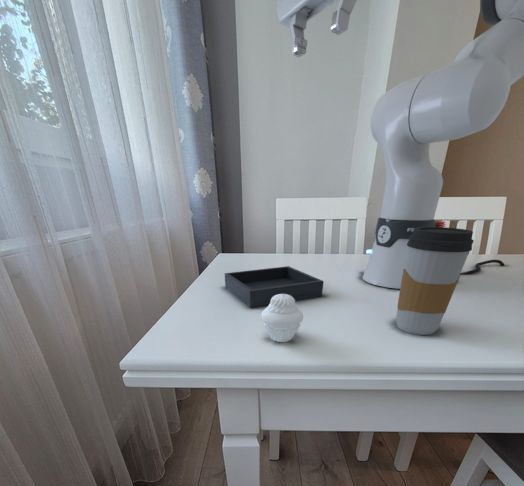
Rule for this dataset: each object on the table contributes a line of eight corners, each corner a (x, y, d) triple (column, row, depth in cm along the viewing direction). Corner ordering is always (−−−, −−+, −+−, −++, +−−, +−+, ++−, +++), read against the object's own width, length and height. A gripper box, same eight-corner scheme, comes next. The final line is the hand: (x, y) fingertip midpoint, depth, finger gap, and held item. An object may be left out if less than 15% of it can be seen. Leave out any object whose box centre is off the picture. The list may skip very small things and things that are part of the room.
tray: (287, 279, 74) (288, 266, 72) (322, 296, 62) (323, 280, 61) (225, 287, 68) (224, 273, 66) (250, 308, 56) (249, 291, 54)
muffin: (300, 329, 47) (303, 287, 44) (302, 347, 42) (306, 301, 39) (262, 328, 48) (262, 286, 44) (259, 346, 42) (259, 300, 39)
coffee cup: (452, 340, 44) (489, 234, 37) (393, 335, 46) (418, 232, 38) (435, 319, 51) (463, 227, 44) (385, 315, 53) (404, 226, 46)
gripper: (426, -157, 31) (387, 23, 37) (309, -43, 47) (295, 71, 53) (386, -203, 28) (351, 1, 34) (275, -65, 44) (265, 59, 50)
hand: (316, 44), depth 44 cm, fingers open, 8 cm apart
